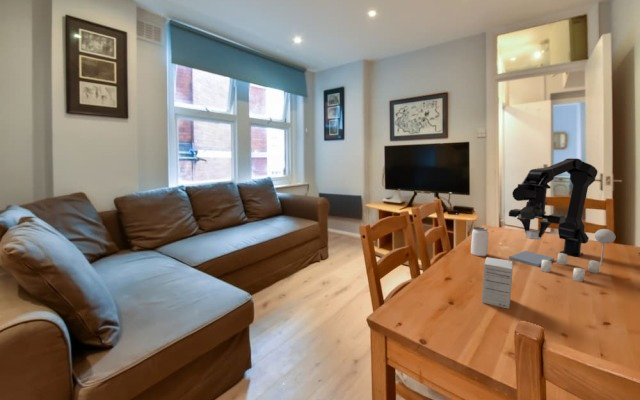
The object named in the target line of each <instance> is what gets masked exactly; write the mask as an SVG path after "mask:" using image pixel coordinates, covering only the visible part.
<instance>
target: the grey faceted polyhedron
mask: <svg viewBox="0 0 640 400" xmlns="http://www.w3.org/2000/svg"><path fill="white" fill-rule="evenodd" d="M539 232H540V230H536V229H529V230H527V231H526V232H525V238H527V239H530V240H535V241H536V240H537V241H538V240H541V239H542V237H539Z"/></svg>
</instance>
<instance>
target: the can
mask: <svg viewBox="0 0 640 400" xmlns="http://www.w3.org/2000/svg"><path fill="white" fill-rule="evenodd" d="M488 242H489V232H488V228H486V227H481V226H479V227H477V226H475V227H473V229H472V231H471V243H470V244H471V245H470V246H471V247H470V253H471V255H473V256H476V257H485V256H487V255H488V244H489V243H488Z"/></svg>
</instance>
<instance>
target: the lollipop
mask: <svg viewBox="0 0 640 400" xmlns="http://www.w3.org/2000/svg"><path fill="white" fill-rule="evenodd" d="M593 235H594V239H595V240H596V241H597V242H598V243H600V244H602V247H601V255H600V261H599V262H600V266H602V265H603V258H604V250H605V245H606V244H607V245H609V244H611V243H613V242H614V241H615V240H616V234H615V233H614V232H613V231H612V230H611V229H608V228H602V229H600V228H599V229H598V230H596V232H595V233H594V234H593Z"/></svg>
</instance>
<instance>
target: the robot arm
mask: <svg viewBox="0 0 640 400" xmlns="http://www.w3.org/2000/svg"><path fill="white" fill-rule="evenodd" d="M564 173H567V174H569V180H570V182H571V184H572V189H571V194H570V200H569V203H568V207H567V213H566V216H565V215H564V214H557V213H552V214H547V211H546V205H547V204H548V203H547V201H546V199H547V190H548V189H549V190H550V189H551V188H552V187H551V185H549V183H551V182H552V181H554V179H555V177H557V176H560V175H562V174H564ZM597 175H598V170H597V168H596V167H595V166H594V165H592V164H590V163H588V162H585V161H583V160H582V159H580V158H566V159H564V160H562V161H560V162H557V163H554V164H552V165H550V166H547V167H541V168H540V167H537V168H532V169H530V170H529V171H528V173H527V174H526V176H525V177H524V179H523V180H522V182H521V183H518V184H517V187H515V188H514V189H513V190H512V194H511V195H512V197H513V199H514V200H515V201H518V202H523V201H527V202H526V205H525V206H524V207H522V209H520V208H514V209H510V210H509V212H508V217H511V218H512V217H513V218H516V219H517V220H518V221H520V222H521V223H522V226H523V228H524V229H523V230H524V232H525V233H526V231H527V230H531V229H530V228H531V220H535V219H540V220H541V221H540V222H539V223H540V224H539V225H540V226H539V231H540V232H539V237H541V238H542V236H543V235H544V233H545V232H546V230H547V229H548V227H549V226H550V225H551V224H555V225H556V224H557V225H558V227H557V229H558V230H557V231H558V238H559V239H561V240H564V245H563V250H561V251H559V253H563V254H567V255H568V256H572V257H577V258H579V257H580V256H583V255H584V252H581V250H582V244H587V243H588V242H589V239H590V238H589V236H588V234H587V233H586V232H585V224H584V223H583V222H584V221H582V217H583V212H584V207H585V203H586V198H587V195H588V194H587V193H588V189H589V187H590V186H591V185H592V184H593V183H594V182H595V180H596V178H597Z"/></svg>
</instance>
